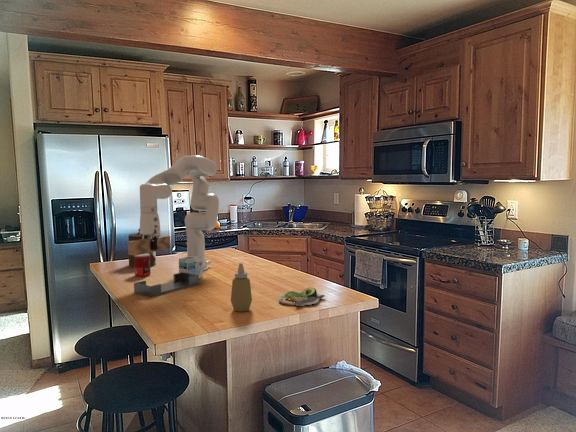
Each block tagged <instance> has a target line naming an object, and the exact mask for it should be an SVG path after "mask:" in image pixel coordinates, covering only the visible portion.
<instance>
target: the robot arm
mask: <svg viewBox="0 0 576 432" xmlns="http://www.w3.org/2000/svg"><path fill="white" fill-rule="evenodd" d="M217 171H218V166H217V164H216V162H215V161H213V160H211V159H210V158H208V157H204V156H202V155H183V156H181V157H179V158H178V159H177V160H176V161H175V162H174V163H173V165H171V166H170V167H169V168H168V169H167V170H163V171H162V172H160V173H158V174H155V175H154V176H151V177H150V178H149V180H147V181H146V182H145V183H143V184H140V186H139V206H140V207H139V208H140V209H139V210H140V211H139V213H140V216H139V228H140V232H139V231H138V232H139V233H140V235H141V237H142V239H146V238H149V235H150V237H151V242H150V244H151V250H156V249H157V241H158V238H159V236H161V222H160V217H159V213H158V200H167V199H169V198H170V196H171V195H172V193H173V189H172V187H171V186H172V185H175V184H178V183H181V182H182V181H183V180H184V179H185V178H186V176H187V175H189V177H190V178H191V180H192V185H193V186H192V192H191V197H190V208H191V209H192V210H193V211H204V212H190V213H187V214H186V215H185V218H184V226H185V230H186V252H187V256H186V257H189V256H193V255H194V256H200V257H203V272H204V271H206V270H209V266H208V265H210V264H212V260H210V259H209V260H206V247H205V245H206V244H205V235H204V233H203V231H212V230H214V229H215V228H216V225H217V220H218V215H219V208H220V201H219V197H218V196H217V194H215V193H209V188H210V187H209V186H210V185H209V183H208V181H207V179H206V177H214V175H216V173H217ZM146 235H147V236H146ZM153 236H154V238H153Z"/></svg>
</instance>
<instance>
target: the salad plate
mask: <svg viewBox="0 0 576 432" xmlns="http://www.w3.org/2000/svg"><path fill="white" fill-rule="evenodd" d="M324 297H326V296H325V294H319V293H318V292H317V289H316V288H315V287H307V288H305V289H303V290H302V291H301V292H300V291H294V290H291V291H288V292H287V291H285V292H284V293H282V294H281V296H279V297H278V300H277V301H278V302H279V303H281V304H282V305H284V304H286V305H285V306H289V305H296V306H295V307H306V306H305V305H309V306H313V305H312V304H314V305H316V304H318V303H319V301H320V300H321V299H322V298H324ZM284 298H286V299H285V300H287V299H290V300H289V301H291V300H292V301H291V302H287V301H285V302H284V301H283V299H284ZM293 302H295V303H293Z"/></svg>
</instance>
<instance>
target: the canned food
mask: <svg viewBox="0 0 576 432" xmlns="http://www.w3.org/2000/svg"><path fill="white" fill-rule="evenodd" d="M134 266H135V268H134V276H135V277H138V278H142V277H143V278H145V277H149V276H150V275H151V267H150V254H148V253H145V254H141V255H136V256H135V255H134Z"/></svg>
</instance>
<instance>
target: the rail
mask: <svg viewBox="0 0 576 432" xmlns="http://www.w3.org/2000/svg"><path fill="white" fill-rule="evenodd" d="M153 238H154V237H153ZM150 242H151V238H146V239H140V240H134V241H129V240H128V241H127V254H128V256H129V255H135V256H136V255H141V254H145V253H150V252H155V253H156V252H158V251H162V250H168V249H171V236H170V235H160V236H159V238H158V241H157V249H156V250H151V244H150Z"/></svg>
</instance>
